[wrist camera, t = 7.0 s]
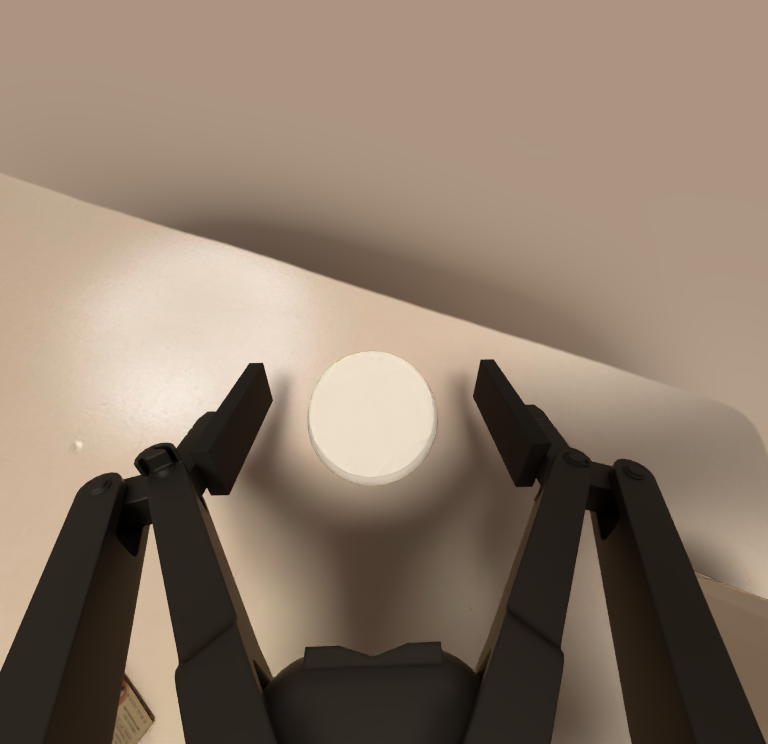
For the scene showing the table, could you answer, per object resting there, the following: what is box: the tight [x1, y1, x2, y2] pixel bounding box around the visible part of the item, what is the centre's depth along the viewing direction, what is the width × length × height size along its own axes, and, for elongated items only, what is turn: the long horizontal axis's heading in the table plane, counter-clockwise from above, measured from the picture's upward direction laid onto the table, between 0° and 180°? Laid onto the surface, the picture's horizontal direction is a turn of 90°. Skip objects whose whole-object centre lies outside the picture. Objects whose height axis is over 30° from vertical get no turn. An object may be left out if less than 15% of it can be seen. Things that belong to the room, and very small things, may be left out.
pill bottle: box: [308, 351, 438, 486], centre depth 16 cm, size 6×6×11 cm
